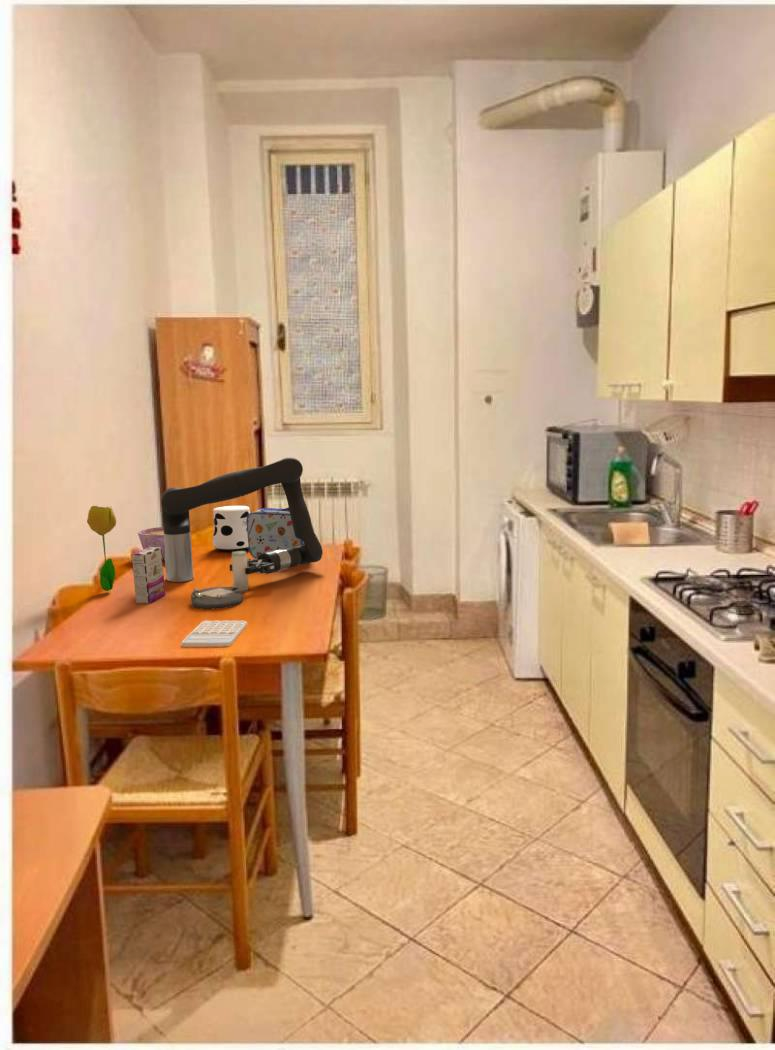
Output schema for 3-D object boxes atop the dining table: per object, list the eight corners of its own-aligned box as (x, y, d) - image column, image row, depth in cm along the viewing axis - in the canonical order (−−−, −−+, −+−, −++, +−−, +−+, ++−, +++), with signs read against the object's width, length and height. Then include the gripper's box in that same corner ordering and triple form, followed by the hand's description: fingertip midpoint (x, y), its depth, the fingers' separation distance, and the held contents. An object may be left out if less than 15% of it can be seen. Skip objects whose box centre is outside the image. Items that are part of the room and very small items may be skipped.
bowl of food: (129, 560, 312) (127, 532, 310) (168, 551, 328) (166, 525, 326) (161, 565, 301) (159, 536, 299) (200, 556, 317) (198, 528, 315)
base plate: (181, 603, 243) (180, 590, 242) (222, 593, 255) (221, 580, 254) (211, 612, 233) (210, 598, 232) (252, 600, 244) (252, 587, 244)
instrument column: (230, 589, 259) (228, 552, 257) (242, 586, 263) (240, 550, 261) (239, 592, 256) (237, 554, 254) (251, 589, 260) (249, 552, 257)
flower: (111, 596, 255) (104, 507, 250) (90, 595, 256) (81, 507, 251) (125, 589, 263) (118, 503, 258) (104, 589, 265) (96, 503, 260)
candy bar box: (152, 594, 255) (148, 546, 253) (165, 595, 254) (162, 546, 252) (134, 603, 245) (130, 553, 242) (149, 604, 244) (145, 553, 241)
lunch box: (318, 560, 303) (316, 505, 300) (306, 565, 294) (303, 509, 290) (259, 556, 314) (256, 503, 310) (245, 561, 304) (242, 506, 301)
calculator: (248, 625, 219) (248, 619, 219) (230, 648, 200) (229, 641, 199) (202, 625, 220) (202, 619, 220) (180, 648, 201) (179, 641, 200)
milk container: (262, 548, 329) (260, 507, 326) (228, 555, 317) (226, 512, 314) (238, 544, 341) (236, 504, 338) (205, 550, 329) (202, 509, 326)
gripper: (261, 548, 274) (224, 556, 262) (287, 553, 264) (250, 561, 252) (262, 569, 275) (225, 577, 263) (288, 574, 266) (251, 583, 254)
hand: (237, 569), depth 258 cm, fingers open, 8 cm apart
